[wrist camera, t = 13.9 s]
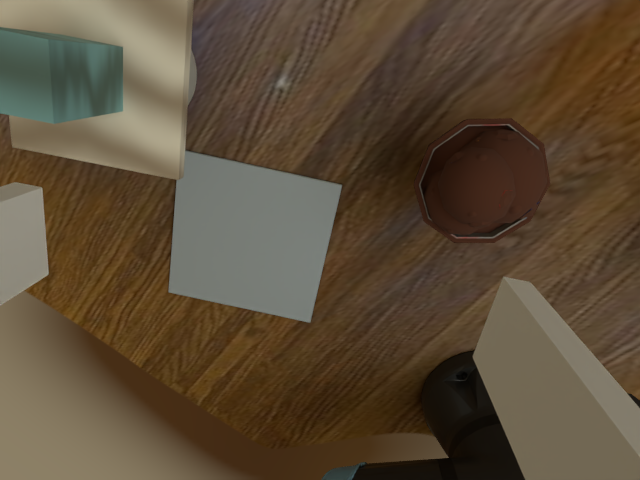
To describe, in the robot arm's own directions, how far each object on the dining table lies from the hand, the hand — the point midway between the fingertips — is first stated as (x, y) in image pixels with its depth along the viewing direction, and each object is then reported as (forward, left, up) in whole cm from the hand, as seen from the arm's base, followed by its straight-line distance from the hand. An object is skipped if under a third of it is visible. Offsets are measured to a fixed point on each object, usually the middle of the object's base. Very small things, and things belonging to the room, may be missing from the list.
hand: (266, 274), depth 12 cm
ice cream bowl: (-1, -14, -34) cm, 37 cm away
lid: (+1, +19, -26) cm, 32 cm away
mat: (-15, +6, -34) cm, 37 cm away
